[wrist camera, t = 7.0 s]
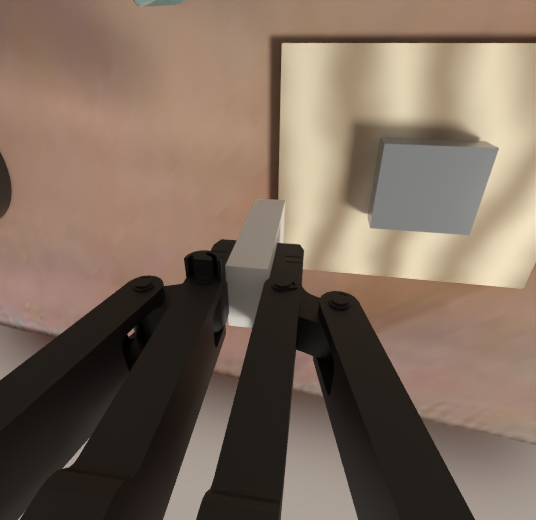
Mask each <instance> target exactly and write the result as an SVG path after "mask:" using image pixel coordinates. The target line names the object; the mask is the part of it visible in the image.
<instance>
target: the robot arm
mask: <svg viewBox="0 0 536 520" xmlns="http://www.w3.org/2000/svg"><path fill="white" fill-rule="evenodd" d="M10 201H11V182H10V177H9V173H8V170H7V167H6V164H5V162H4V160H3V158H2V155H1V154H0V218H2V217H3V216H4V214H5V213H6V211H7V210H8V208H9V205H10ZM284 218H285V200H274V199H258V198H256V200H255V202H254V204H253V206H252V208H251V210H250V213H249V215H248V217H247V219H246V221H245V224H244V226H243V228H242V230H241V232H240V234H239V237H238V239H237V240H224V239H222V240H220V241H219V242H217V243H216V244H214V246H213V247H212V249H211V251H208V250H206V251H196V252H193V253H190V254H188V255H187V256H186V257H185V258H184V262H185V270H186V277H187V278H186V279H185V281H184V283H183V284H178V285H170V286H164V284H163V281H162V280H161V278H158V277H156V276H141V277H138V278H135V279H133V280H131V281H130V282H128V283H127V284H125V285H124V286H123V287H122V288H120V289H119V290H118V291H116V292H115V293H114V294H112V295H111V296H110V297H108V298H107V299H106V300H105V301H103V302H102V303H101V304H99V305H98V306H97V307H95V308H94V309H93V310H91V311H90V312H89V313H88V314H86V315H85V316H84V317H82V318H81V319H80V320H78V321H77V322H76V323H75V324H73V325H72V326H71V327H69V328H68V329H67V330H65V331H64V332H63V333H61V334H60V335H59V336H58V337H56V338H55V339H54V340H52V341H51V342H50V343H48V344H47V345H46V346H45V347H43V348H42V349H41V350H39V351H38V352H37V353H35V354H34V355H33V356H32V357H30V358H29V359H28V360H26V361H25V362H24V363H22V364H21V365H20V366H18V367H17V368H16V369H15V370H13V371H12V372H11V373H9V374H8V375H7V376H5V377H4V378H3V379H2V380H0V520H18V519H19V517H20V516H21V515H22V514H23V513H24V514H23V516H22V517H21V519H20V520H163V518H164V515H165V512H166V509H167V506H168V503H169V500H170V497H171V494H172V491H173V488H174V485H175V482H176V479H177V476H178V473H179V471H180V467H181V465H182V462H183V459H184V456H185V453H186V450H187V447H188V444H189V441H190V438H191V435H192V432H193V429H194V426H195V423H196V420H197V417H198V415H199V412H200V409H201V406H202V402H203V399H204V397H205V394H206V391H207V388H208V385H209V382H210V379H211V376H212V373H213V370H214V367H215V364H216V361H217V359H218V356H219V353H220V350H221V347H222V344H223V341H224V338H225V335H226V326H225V323H226V320H227V317H228V320H229V325H230V326H240V327H250V328H252V332H251V336H250V340H249V344H248V347H247V351H246V355H245V359H244V363H243V367H242V371H241V375H240V379H239V382H238V386H237V390H236V394H235V398H234V402H233V406H232V410H231V414H230V417H229V421H228V425H227V429H226V433H225V437H224V441H223V445H222V449H221V452H220V456H219V460H218V465H217V468H216V472H215V476H214V479H213V483H212V486H211V488H210V490H208V491H207V492H206V493H205V495H204V497H203V500H202V502H201V505H200V509H199V512H198V515H197V519H196V520H281V509H282V497H283V487H284V475H285V465H286V453H287V443H288V432H289V420H290V409H291V399H292V388H293V377H294V366H295V357H296V350H299V351H302V352H304V353H307V354H309V355H312V356H313V361H314V365H315V368H316V372H317V375H318V379H319V383H320V386H321V390H322V393H323V397H324V400H325V403H326V407H327V411H328V414H329V418H330V421H331V425H332V428H333V432H334V436H335V439H336V443H337V446H338V450H339V453H340V457H341V460H342V464H343V467H344V471H345V474H346V478H347V481H348V485H349V489H350V492H351V495H352V499H353V503H354V506H355V510H356V513H357V517H358V520H475V519H474V517H473V515H472V513H471V511H470V509H469V508H468V506H467V504H466V502H465V500H464V498H463V496H462V494H461V492H460V491H459V489H458V487H457V485H456V483H455V482H454V479H453V477H452V476H451V474H450V472H449V470H448V468H447V466H446V464H445V463H444V461H443V459H442V457H441V455H440V453H439V451H438V450H437V448H436V446H435V444H434V442H433V440H432V438H431V436H430V434H429V432H428V431H427V429H426V427H425V425H424V424H423V421H422V419H421V417H420V416H419V414H418V412H417V410H416V408H415V406H414V404H413V403H412V401H411V399H410V397H409V395H408V393H407V391H406V389H405V388H404V386H403V384H402V382H401V380H400V378H399V376H398V374H397V373H396V371H395V369H394V367H393V365H392V363H391V361H390V359H389V358H388V356H387V354H386V352H385V350H384V348H383V346H382V344H381V343H380V341H379V339H378V337H377V335H376V333H375V331H374V329H373V328H372V326H371V324H370V322H369V320H368V318H367V316H366V314H365V313H364V311H363V309H362V307H361V305H360V303H359V302H358V300H357V299H356V298H355V297H353V296H352V295H350V294H348V293H345V292H340V291H332V292H327V293H325V294H323V295H322V296H321V298H319V297H316V296H313V295H311V294H309V293H308V292H306V291H305V290H304V289H303V287H302V273H303V260H304V249H303V248H302V247H301V245H300V244H288V243H283V242H284ZM133 328H134V331H135V332H134V333H133V334H132V335H131V336H129V337H128V335H127V334H128V333H129V332H130V331H131V330H132V329H133ZM90 436H91V437H90ZM89 437H90V439H89ZM88 439H89V440H88ZM87 440H88V442H87V444H86V445H85V447H84V449H83V450H82V452H81V454H80V455H79V457H78V458H77V460H76V461H75V463H74V464H73V465H71V466H70V467H69V468H65V469H62V468H63V467H64V466H65V465H66V463H68V461H69V460H70V459H71V458H72V457H73V456H74V455H75V453H76V452H77V451H78V450H79V449H80V448H81V446H82V445H83V444H84V443H85V442H86V441H87Z"/></svg>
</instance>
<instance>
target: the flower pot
mask: <svg viewBox="0 0 536 520" xmlns="http://www.w3.org/2000/svg"><path fill="white" fill-rule="evenodd" d="M184 1H186V0H134V2H135V3H136V4H137V5H138V6H162V5H175V4H179V3H182V2H184Z"/></svg>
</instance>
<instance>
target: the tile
mask: <svg viewBox="0 0 536 520" xmlns="http://www.w3.org/2000/svg"><path fill="white" fill-rule="evenodd" d="M498 150H499V148H498V147H496V146H494V145H492V144H490V143H488V142H487V141H468V140H441V139H413V138H386V137H381V138H380V144H379V150H378V156H377V162H376V168H375V174H374V180H373V186H372V192H371V198H370V204H369V210H368V216H367V217H368V222H369V226H370V228H374V229H388V230H402V231H416V232H430V233H444V234H458V235H470V232H471V229H472V226H473V223H474V221H475V218H476V215H477V212H478V209H479V206H480V203H481V200H482V197H483V194H484V191H485V188H486V185H487V182H488V179H489V176H490V174H491V171H492V168H493V165H494V162H495V159H496V156H497V153H498Z"/></svg>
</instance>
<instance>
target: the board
mask: <svg viewBox="0 0 536 520" xmlns="http://www.w3.org/2000/svg"><path fill="white" fill-rule="evenodd" d="M381 137H386V138H413V139H441V140H468V141H487V142H488V143H490V144H492V145H494V146H496V147H498V148H499V150H498V153H497V156H496V159H495V162H494V165H493V168H492V171H491V174H490V176H489V179H488V182H487V185H486V188H485V191H484V194H483V197H482V200H481V203H480V206H479V209H478V212H477V215H476V218H475V221H474V223H473V226H472V229H471V232H470V235H458V234H444V233H430V232H416V231H402V230H388V229H374V228H370V226H369V222H368V217H367V216H368V210H369V204H370V198H371V192H372V186H373V180H374V174H375V168H376V162H377V156H378V150H379V144H380V138H381ZM278 200H285V218H284V242H283V243H288V244H300V245H301V247H302V248H303V249H304V260H303V269H309V270H320V271H331V272H342V273H353V274H365V275H376V276H387V277H398V278H409V279H421V280H432V281H443V282H454V283H466V284H477V285H488V286H499V287H510V288H522V289H523V288H524V286H525V284H526V282H527V280H528V277H529V275H530V273H531V271H532V269H533V267H534V265H535V263H536V43H282V55H281V100H280V145H279V190H278Z"/></svg>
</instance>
